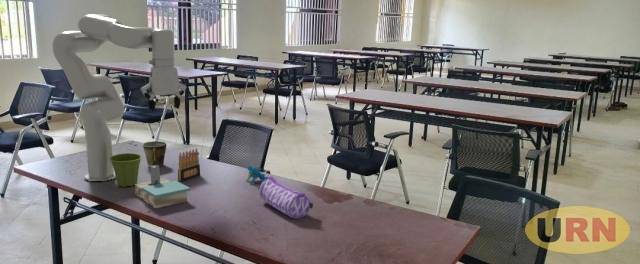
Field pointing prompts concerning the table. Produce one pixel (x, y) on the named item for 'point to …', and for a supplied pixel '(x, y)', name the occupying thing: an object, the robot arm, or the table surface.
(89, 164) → the robot arm
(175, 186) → the teal square plate
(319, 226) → the table surface
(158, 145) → the ceramic cup
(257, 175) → the gear
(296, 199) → the pencil case
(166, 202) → the block
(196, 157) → the ammunition clip
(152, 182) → the steel pin
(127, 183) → the plant pot
